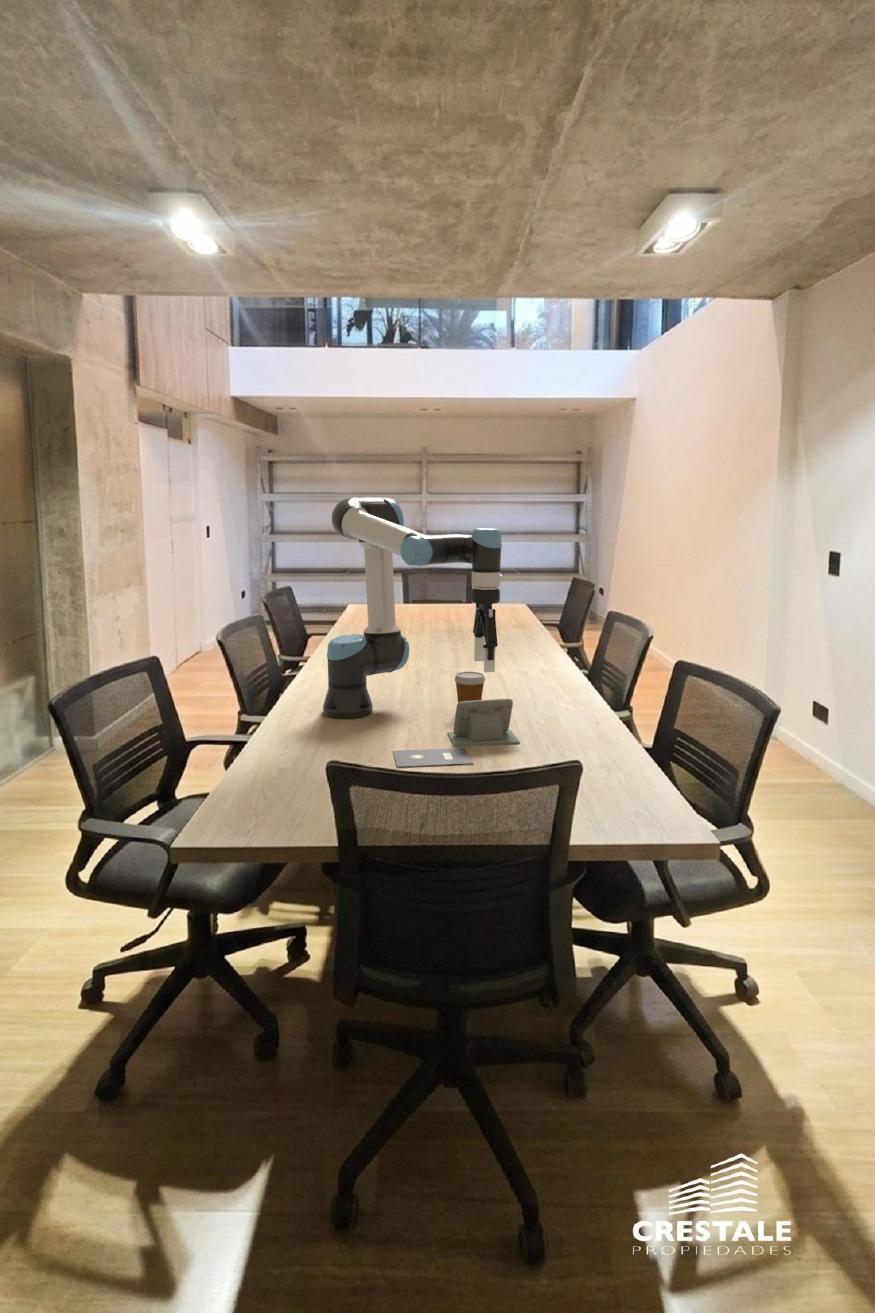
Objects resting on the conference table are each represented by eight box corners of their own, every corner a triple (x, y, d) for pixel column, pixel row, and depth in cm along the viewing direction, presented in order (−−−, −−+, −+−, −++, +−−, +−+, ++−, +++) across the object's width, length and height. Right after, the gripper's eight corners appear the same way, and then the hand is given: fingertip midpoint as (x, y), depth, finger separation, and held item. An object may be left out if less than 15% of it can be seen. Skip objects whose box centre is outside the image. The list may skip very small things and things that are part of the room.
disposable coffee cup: (482, 717, 231) (483, 679, 229) (451, 716, 233) (451, 677, 230) (486, 709, 240) (487, 672, 238) (456, 707, 242) (457, 670, 240)
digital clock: (509, 731, 216) (510, 694, 214) (514, 741, 207) (515, 703, 205) (452, 732, 215) (452, 695, 213) (454, 742, 206) (455, 703, 204)
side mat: (453, 746, 205) (453, 744, 204) (447, 733, 215) (447, 732, 215) (519, 743, 207) (519, 741, 207) (510, 731, 218) (510, 729, 218)
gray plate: (397, 767, 188) (397, 766, 188) (392, 751, 200) (392, 750, 200) (473, 764, 191) (473, 763, 191) (464, 748, 202) (464, 747, 202)
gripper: (510, 593, 191) (508, 676, 195) (489, 582, 215) (488, 656, 220) (481, 593, 190) (479, 677, 194) (463, 582, 214) (462, 656, 219)
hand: (484, 666), depth 207 cm, fingers open, 13 cm apart
